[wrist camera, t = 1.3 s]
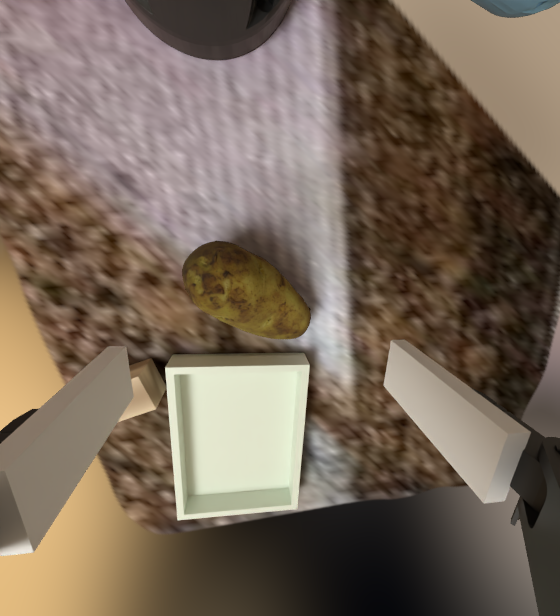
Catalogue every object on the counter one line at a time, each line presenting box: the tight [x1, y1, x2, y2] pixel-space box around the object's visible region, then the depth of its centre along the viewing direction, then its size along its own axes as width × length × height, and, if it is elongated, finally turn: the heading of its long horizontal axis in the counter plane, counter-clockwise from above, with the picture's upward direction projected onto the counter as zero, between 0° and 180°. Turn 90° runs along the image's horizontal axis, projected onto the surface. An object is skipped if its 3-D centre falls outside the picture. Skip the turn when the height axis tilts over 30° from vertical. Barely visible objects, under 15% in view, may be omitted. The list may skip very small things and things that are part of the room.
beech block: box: [118, 358, 166, 422], centre depth 29 cm, size 4×4×4 cm
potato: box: [182, 241, 311, 339], centre depth 25 cm, size 8×13×8 cm, turn 34°
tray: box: [165, 353, 310, 520], centre depth 33 cm, size 21×15×3 cm
